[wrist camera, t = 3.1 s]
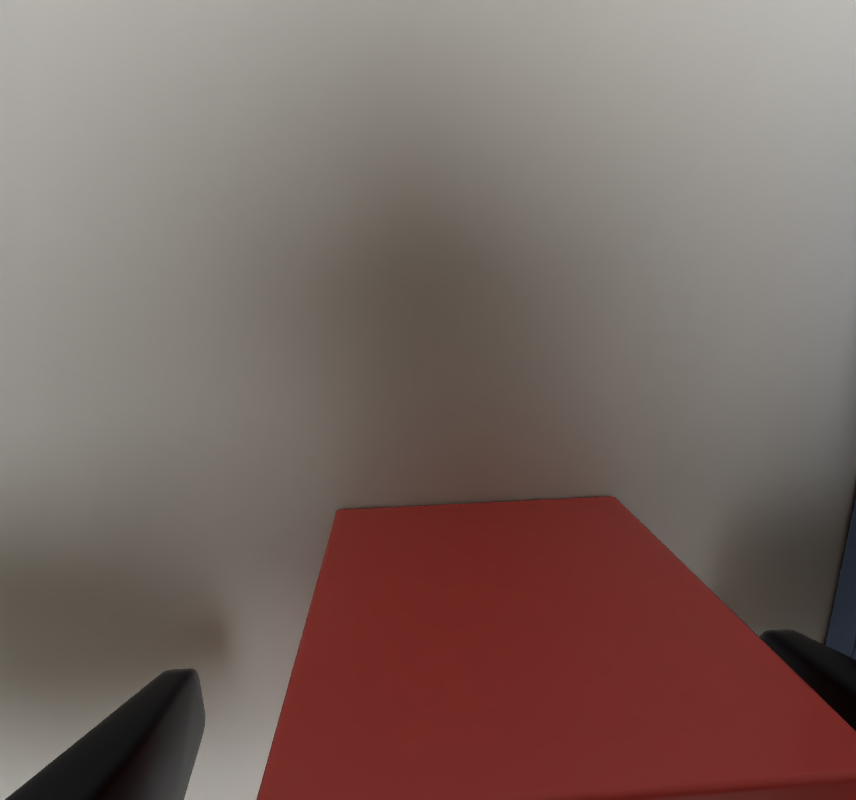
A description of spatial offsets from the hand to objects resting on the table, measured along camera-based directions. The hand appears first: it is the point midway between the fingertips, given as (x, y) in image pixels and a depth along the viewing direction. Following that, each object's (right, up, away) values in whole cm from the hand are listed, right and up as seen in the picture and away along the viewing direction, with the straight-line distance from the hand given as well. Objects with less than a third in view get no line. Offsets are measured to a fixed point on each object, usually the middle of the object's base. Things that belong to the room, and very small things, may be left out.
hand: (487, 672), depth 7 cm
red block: (0, 0, +1) cm, 1 cm away
